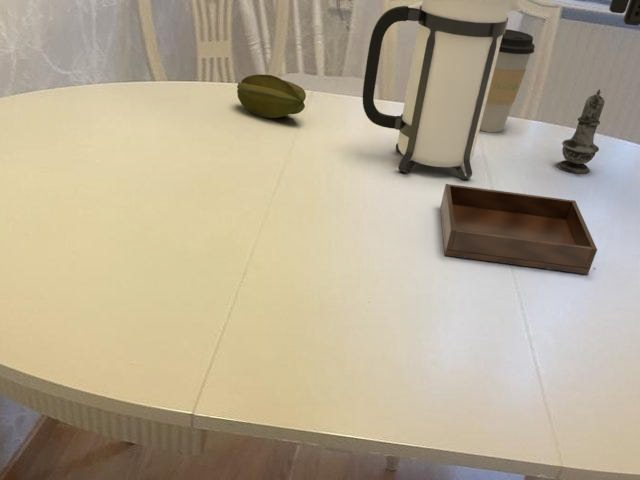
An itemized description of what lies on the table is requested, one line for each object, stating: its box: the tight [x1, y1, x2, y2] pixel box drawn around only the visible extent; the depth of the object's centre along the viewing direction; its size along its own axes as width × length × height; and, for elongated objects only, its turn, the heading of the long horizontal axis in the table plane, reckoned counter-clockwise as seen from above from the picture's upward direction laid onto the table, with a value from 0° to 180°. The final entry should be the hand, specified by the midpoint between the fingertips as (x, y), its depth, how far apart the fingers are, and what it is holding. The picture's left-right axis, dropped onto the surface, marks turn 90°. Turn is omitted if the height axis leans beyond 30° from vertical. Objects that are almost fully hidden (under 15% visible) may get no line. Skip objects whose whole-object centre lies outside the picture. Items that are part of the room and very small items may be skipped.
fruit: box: [236, 74, 307, 119], centre depth 130 cm, size 11×12×7 cm
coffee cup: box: [479, 28, 536, 133], centre depth 133 cm, size 9×9×15 cm
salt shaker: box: [556, 89, 606, 175], centre depth 121 cm, size 6×6×12 cm
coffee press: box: [362, 0, 522, 181], centre depth 110 cm, size 17×16×30 cm
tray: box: [440, 183, 598, 275], centre depth 100 cm, size 18×16×3 cm
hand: (623, 18), depth 105 cm, fingers open, 8 cm apart
